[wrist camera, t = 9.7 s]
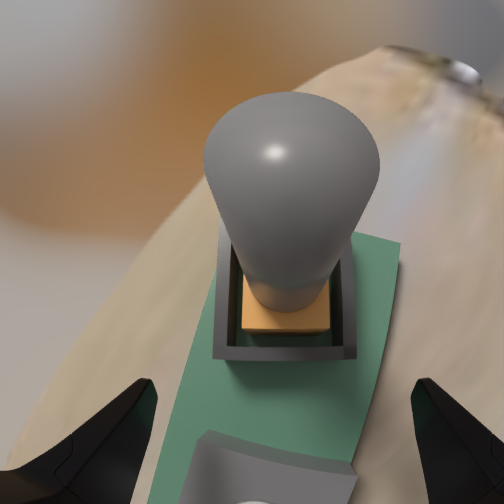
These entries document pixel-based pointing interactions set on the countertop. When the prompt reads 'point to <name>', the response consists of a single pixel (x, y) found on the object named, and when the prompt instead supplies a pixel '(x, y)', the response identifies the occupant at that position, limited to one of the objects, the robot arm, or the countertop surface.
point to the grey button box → (262, 475)
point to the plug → (289, 202)
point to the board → (283, 381)
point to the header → (227, 350)
